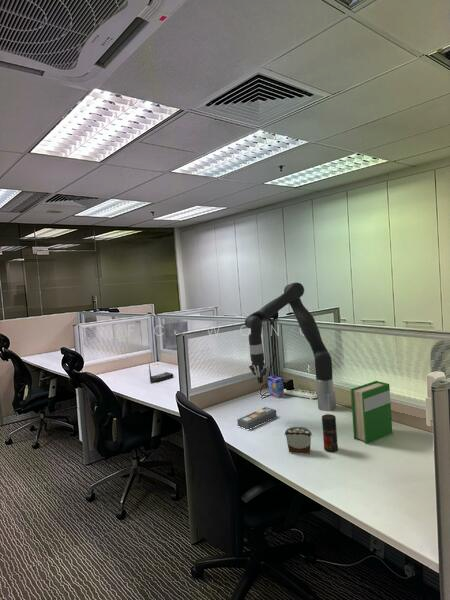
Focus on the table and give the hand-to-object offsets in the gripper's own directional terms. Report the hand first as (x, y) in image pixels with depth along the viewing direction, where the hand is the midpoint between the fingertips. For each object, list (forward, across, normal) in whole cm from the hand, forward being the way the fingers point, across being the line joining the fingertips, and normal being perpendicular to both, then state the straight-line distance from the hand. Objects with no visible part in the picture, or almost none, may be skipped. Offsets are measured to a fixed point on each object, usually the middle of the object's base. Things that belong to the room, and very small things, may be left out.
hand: (260, 382), depth 212 cm
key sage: (+19, +2, +12) cm, 23 cm away
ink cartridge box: (+21, +20, -34) cm, 45 cm away
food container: (+22, -37, +18) cm, 46 cm away
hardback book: (+23, -56, -13) cm, 62 cm away
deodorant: (+22, -47, +9) cm, 53 cm away
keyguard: (+21, +1, +5) cm, 21 cm away
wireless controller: (+18, +126, -15) cm, 128 cm away
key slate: (+20, +1, -3) cm, 20 cm away
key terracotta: (+19, +1, +7) cm, 21 cm away
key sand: (+18, +1, +2) cm, 18 cm away
